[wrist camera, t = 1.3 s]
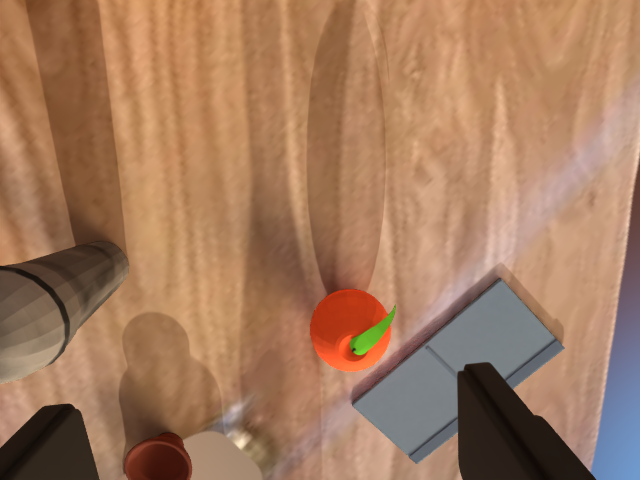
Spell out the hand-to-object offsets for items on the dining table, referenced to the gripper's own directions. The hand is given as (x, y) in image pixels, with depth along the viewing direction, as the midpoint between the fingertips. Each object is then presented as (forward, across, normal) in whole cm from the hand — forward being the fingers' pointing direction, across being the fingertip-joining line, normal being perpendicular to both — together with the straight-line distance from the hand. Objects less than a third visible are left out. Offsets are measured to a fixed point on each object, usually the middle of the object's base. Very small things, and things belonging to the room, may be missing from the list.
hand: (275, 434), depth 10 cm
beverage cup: (+27, +18, +2) cm, 32 cm away
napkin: (+27, -14, +17) cm, 34 cm away
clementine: (+27, -4, +9) cm, 28 cm away
